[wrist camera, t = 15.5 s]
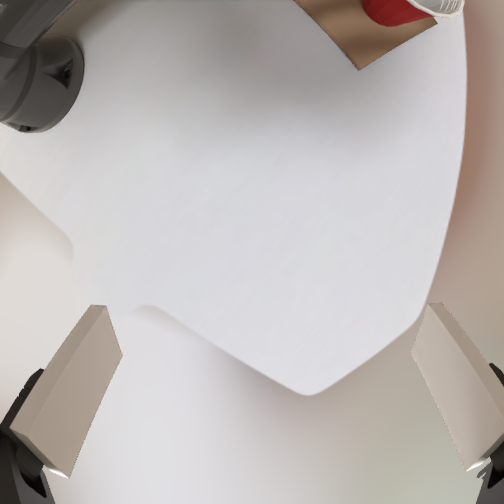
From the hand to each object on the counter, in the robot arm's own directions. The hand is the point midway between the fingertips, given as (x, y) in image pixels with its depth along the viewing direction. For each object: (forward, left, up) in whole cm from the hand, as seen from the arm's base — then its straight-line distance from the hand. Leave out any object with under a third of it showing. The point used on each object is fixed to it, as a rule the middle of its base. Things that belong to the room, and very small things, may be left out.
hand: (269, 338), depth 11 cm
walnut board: (-14, +28, -27) cm, 41 cm away
